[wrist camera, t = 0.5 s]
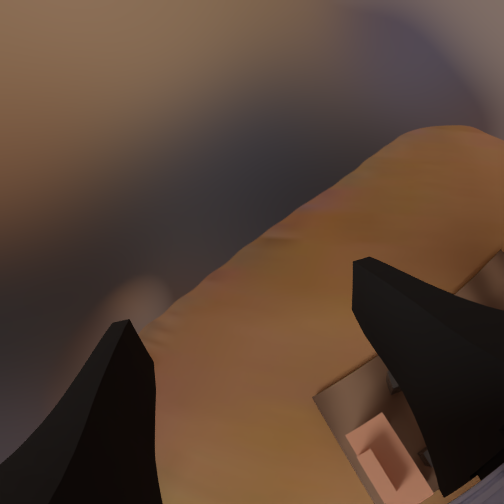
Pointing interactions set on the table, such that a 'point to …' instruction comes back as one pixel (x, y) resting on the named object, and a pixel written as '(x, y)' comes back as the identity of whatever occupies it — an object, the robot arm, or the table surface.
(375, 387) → the walnut board
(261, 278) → the table surface
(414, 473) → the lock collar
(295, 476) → the table surface
